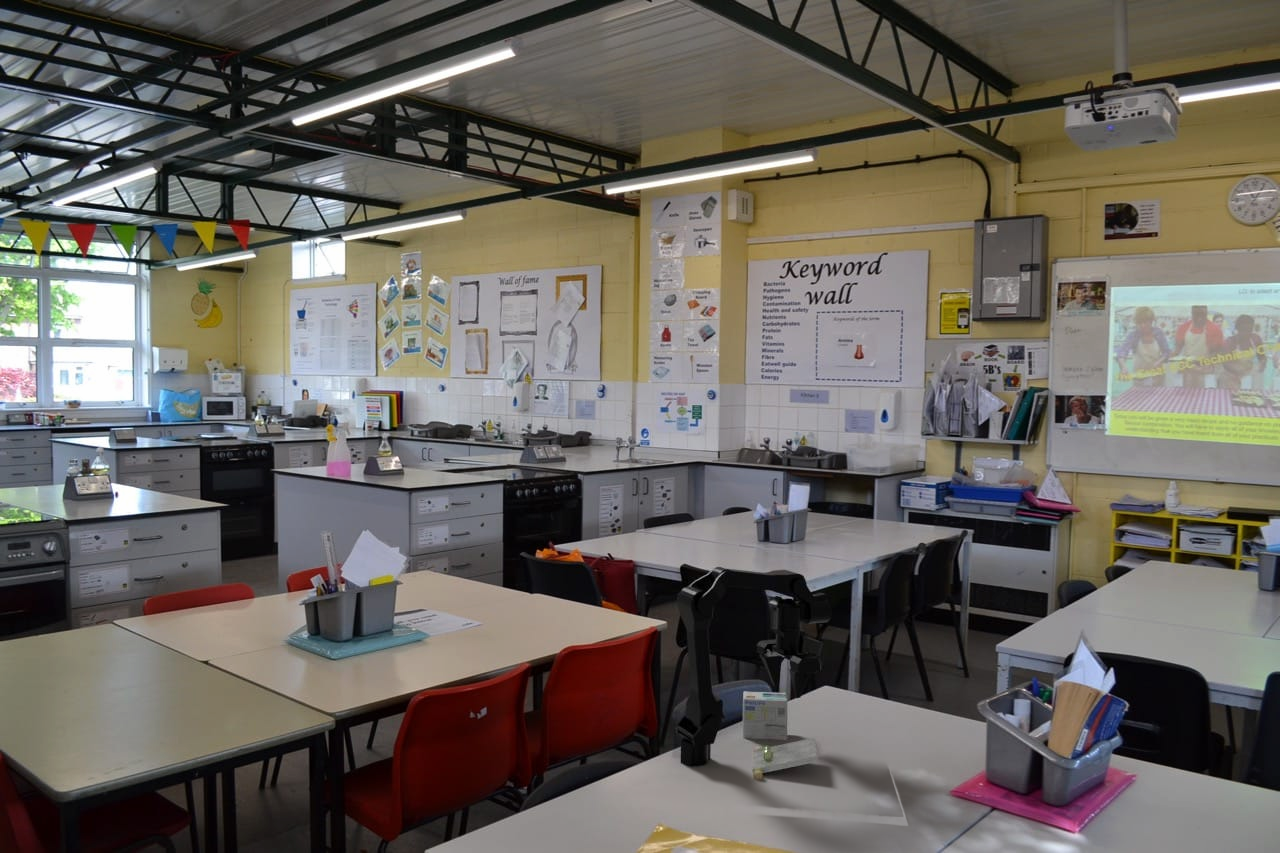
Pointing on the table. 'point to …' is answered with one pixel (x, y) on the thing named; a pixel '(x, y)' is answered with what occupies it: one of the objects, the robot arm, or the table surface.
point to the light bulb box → (765, 715)
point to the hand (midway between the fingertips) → (787, 692)
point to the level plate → (785, 756)
